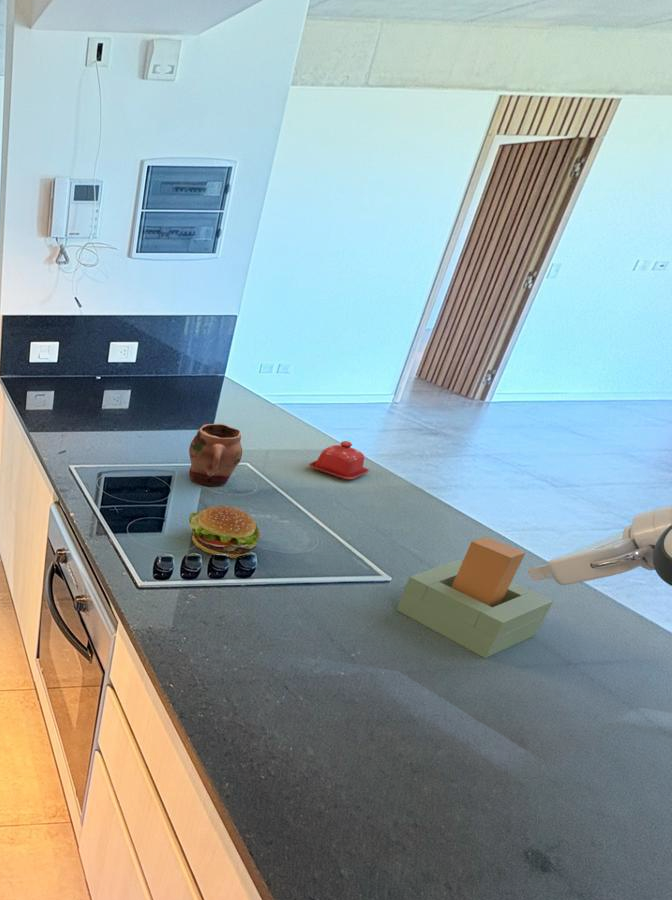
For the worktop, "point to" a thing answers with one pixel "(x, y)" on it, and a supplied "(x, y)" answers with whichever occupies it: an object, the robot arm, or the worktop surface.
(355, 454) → the butter dish
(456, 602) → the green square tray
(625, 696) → the worktop surface
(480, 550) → the orange rectangular block
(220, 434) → the decorative planter
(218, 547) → the food
